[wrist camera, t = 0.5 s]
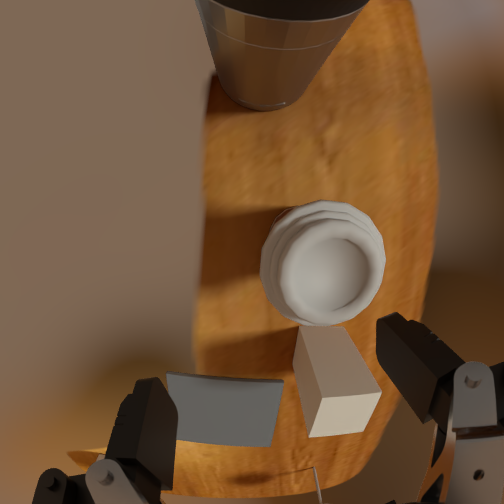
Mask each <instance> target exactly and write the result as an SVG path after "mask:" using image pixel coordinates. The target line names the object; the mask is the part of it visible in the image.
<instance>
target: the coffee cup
mask: <svg viewBox="0 0 504 504" xmlns="http://www.w3.org/2000/svg"><path fill="white" fill-rule="evenodd" d="M385 262H386V258H385V252H384V246H383V240H382V236H381V234H380V233H379V231H378V230H377V228H376V227H375V225H374V223H373V222H372V220H371V219H370V217H369V216H367V215H366V214H364V213H363V212H361V211H360V210H358V209H356V208H355V207H353V206H352V205H350V204H348V203H345V202H337V201H329V200H317V201H314V202H310V203H307V204H304V205H301V206H295V207H291V208H288V209H285V210H284V211H283V212H282V213H281V214H279V215H278V216H277V217H276V218H275V220H274V222H273V224H272V226H271V228H270V233H269V235H268V237H267V239H266V241H265V243H264V245H263V247H262V251H261V262H260V278H261V281H262V284H263V287H264V290H265V293H266V296H267V299H268V300H269V301H270V302H271V304H272V305H273V306H274V307H275V308H276V309H277V310H278V311H279V312H280V313H281V314H282V315H283V316H284V317H286V318H288V319H291V320H293V321H295V322H298V323H300V324H302V325H305V326H330V325H335V324H338V323H341V322H343V321H346V320H349V319H352V318H353V317H355V316H356V315H357V314H358V313H360V312H361V311H362V310H363V309H365V308H366V307H367V306H368V305H369V304H370V302H371V301H372V299H373V297H374V296H375V294H376V293H377V291H378V289H379V287H380V284H381V281H382V277H383V272H384V267H385Z"/></svg>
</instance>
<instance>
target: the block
mask: <svg viewBox="0 0 504 504" xmlns="http://www.w3.org/2000/svg"><path fill="white" fill-rule="evenodd" d="M292 364H293V369H294V373H295V378H296V382H297V386H298V391H299V395H300V400H301V404H302V409H303V413H304V418H305V423H306V427H307V432H308V436H309V437H320V436H331V435H340V434H348V433H355V432H362V431H363V430H364V428H365V426H366V425H367V423H368V421H369V419H370V417H371V415H372V413H373V411H374V409H375V406H376V404H377V402H378V400H379V398H380V396H381V393H382V391H381V389H380V387H379V386H378V384H377V382H376V380H375V379H374V377H373V375H372V373H371V372H370V370H369V368H368V367H367V365H366V363H365V361H364V360H363V358H362V356H361V355H360V353H359V351H358V350H357V348H356V346H355V344H354V343H353V341H352V339H351V338H350V336H349V334H348V333H347V331H346V329H345V328H344V326H299V330H298V336H297V341H296V347H295V352H294V357H293V363H292Z"/></svg>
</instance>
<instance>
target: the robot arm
mask: <svg viewBox="0 0 504 504" xmlns="http://www.w3.org/2000/svg"><path fill="white" fill-rule="evenodd" d="M368 1H369V0H195V3H196V6H197V9H198V11H199V14H200V17H201V21H202V24H203V27H204V31H205V34H206V37H207V40H208V44H209V47H210V50H211V54H212V57H213V60H214V64H215V68H216V71H217V74H218V78H219V81H220V83H221V86H222V88H223V89H224V91H225V92H226V94H227V95H228V96H229V97H230V98H231V99H232V100H233V101H235V102H237V103H238V104H240V105H242V106H244V107H247V108H249V109H253V110H259V111H272V110H277V109H281V108H284V107H286V106H289V105H290V104H292V103H293V102H295V101H296V100H297V99H298V98H299V97H300V96H301V95H302V94H303V93H304V91H305V90H306V88H307V87H308V85H309V84H310V82H311V81H312V80H313V78H314V77H315V75H316V74H317V72H318V71H319V69H320V68H321V66H322V65H323V64H324V62H325V61H326V59H327V58H328V56H329V55H330V54H331V52H332V51H333V49H334V48H335V47H336V45H337V44H338V42H339V41H340V40H341V38H342V37H343V35H344V34H345V33H346V31H347V30H348V29H349V27H350V26H351V24H352V23H353V21H354V20H355V19H356V17H357V16H358V15H359V13H360V12H361V11H362V9H363V8H364V7H365V5H366V4H367V3H368ZM376 355H377V359H378V362H379V364H380V365H381V367H382V368H383V370H384V371H385V372H386V374H387V375H388V376H389V378H390V379H391V380H392V382H393V383H394V384H395V386H396V387H397V389H398V390H399V391H400V393H401V394H402V395H403V397H404V398H405V400H406V401H407V402H408V404H409V405H410V407H411V408H412V409H413V411H414V412H415V413H416V415H417V416H418V417H419V419H420V421H421V422H422V423H423V424H424V423H426V422H428V421H430V420H431V419H434V420H435V422H436V426H435V431H434V438H433V445H432V450H431V456H430V461H429V465H428V469H427V473H426V476H425V478H424V481H423V483H422V485H421V488H420V491H419V494H418V497H417V501H416V502H410V503H405V504H501V500H502V493H503V484H504V362H501V363H499V364H496V365H494V366H490V367H488V366H486V365H485V364H483V363H480V362H468V363H466V362H464V361H463V360H462V359H461V358H460V357H459V356H458V355H457V354H456V353H455V352H454V351H453V350H452V349H450V348H449V347H448V346H447V345H446V344H445V343H444V342H443V341H442V340H439V338H438V337H437V336H436V335H435V334H433V333H432V331H431V330H429V329H428V328H427V327H426V326H425V325H424V324H422V323H419V322H417V321H414V320H409V321H407V320H406V319H405V318H404V317H402V316H401V315H400V314H399V313H398V312H394V313H392V314H389V315H387V316H384V317H382V318H379V319H378V320H377V323H376ZM117 416H118V417H117V418H116V420H115V426H114V427H113V430H112V433H111V437H110V440H109V444H108V447H107V451H106V454H105V458H104V459H102V460H98V461H96V462H95V463H93V464H92V465H91V466H90V467H89V468H88V470H87V472H86V474H81V475H76V476H69V477H68V476H67V475H66V474H64V473H63V472H62V471H61V470H59V469H57V468H51V469H48V470H46V471H45V472H43V474H42V475H41V476H40V478H39V480H38V484H37V487H36V490H35V494H34V498H33V502H32V504H165V502H164V501H163V500H162V499H161V498H160V494H161V490H172V489H173V474H174V461H175V449H176V438H177V428H178V411H177V408H176V405H175V403H174V402H173V400H172V398H171V397H170V395H169V394H168V392H167V390H166V389H165V387H164V385H163V384H162V382H161V381H160V379H159V378H158V377H153V378H147V379H139V380H137V381H136V384H135V387H134V390H133V394H128V395H127V397H126V398H125V399H124V401H123V402H122V403H121V405H120V408H119V411H118V414H117ZM386 504H396V502H395V500H393V501H390V502H388V503H386Z"/></svg>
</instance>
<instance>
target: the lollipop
mask: <svg viewBox="0 0 504 504" xmlns="http://www.w3.org/2000/svg"><path fill="white" fill-rule="evenodd" d="M313 472H314V477H315V483H316V488H317V492H318V498H319V502H320V504H329V503H322V499H321V495H320V489H319V485H318V480H317V475H316V470H315V467H313Z"/></svg>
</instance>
